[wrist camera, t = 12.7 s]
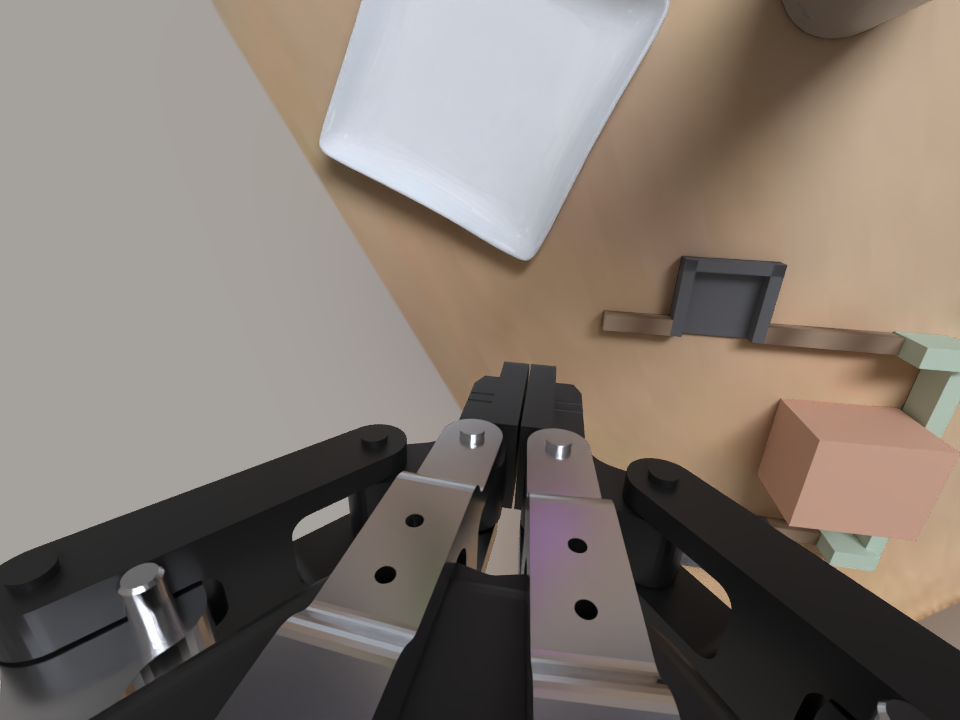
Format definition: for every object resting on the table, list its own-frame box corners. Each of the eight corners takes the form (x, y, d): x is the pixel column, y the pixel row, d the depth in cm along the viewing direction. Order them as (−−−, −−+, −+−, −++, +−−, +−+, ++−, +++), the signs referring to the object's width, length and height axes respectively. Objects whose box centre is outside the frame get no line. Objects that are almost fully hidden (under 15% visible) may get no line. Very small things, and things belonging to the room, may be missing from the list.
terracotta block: (756, 474, 47) (789, 525, 40) (779, 397, 43) (819, 440, 37) (863, 485, 45) (915, 541, 39) (896, 407, 42) (960, 453, 35)
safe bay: (809, 535, 48) (828, 565, 45) (894, 331, 39) (928, 347, 36) (857, 542, 48) (882, 572, 44) (956, 336, 39) (996, 353, 35)
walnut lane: (575, 501, 52) (576, 510, 51) (603, 310, 43) (605, 314, 42) (842, 539, 48) (851, 549, 47) (935, 336, 39) (949, 342, 38)
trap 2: (666, 330, 43) (669, 335, 41) (681, 256, 40) (686, 259, 39) (757, 338, 42) (763, 343, 40) (779, 261, 39) (787, 265, 37)
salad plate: (669, 8, 34) (680, -8, 31) (532, 260, 43) (529, 267, 40) (419, -133, 33) (403, -165, 30) (332, 152, 42) (314, 151, 39)
